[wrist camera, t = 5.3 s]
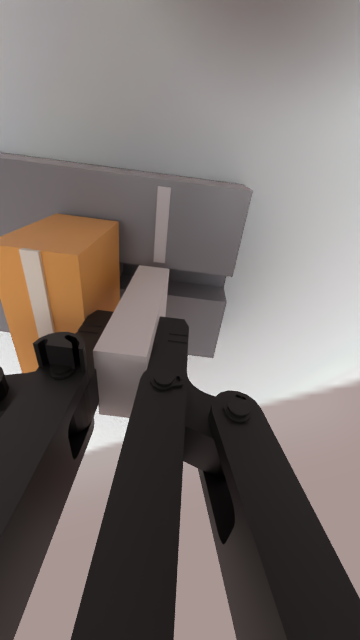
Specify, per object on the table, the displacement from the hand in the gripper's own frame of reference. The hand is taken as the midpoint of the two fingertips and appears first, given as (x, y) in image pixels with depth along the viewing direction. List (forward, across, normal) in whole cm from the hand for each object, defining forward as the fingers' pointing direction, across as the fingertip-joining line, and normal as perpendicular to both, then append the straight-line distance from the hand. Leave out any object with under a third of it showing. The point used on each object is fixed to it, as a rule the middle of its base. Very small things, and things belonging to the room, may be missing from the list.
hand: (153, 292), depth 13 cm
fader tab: (+3, -4, 0) cm, 5 cm away
